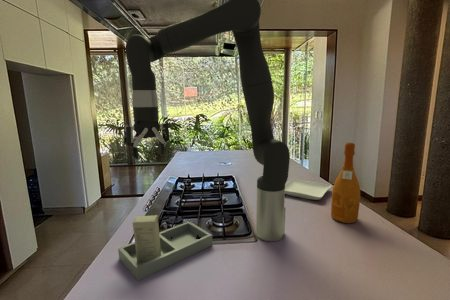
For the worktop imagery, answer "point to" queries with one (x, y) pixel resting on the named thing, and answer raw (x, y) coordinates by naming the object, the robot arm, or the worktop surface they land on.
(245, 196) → the worktop surface
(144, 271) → the carton tray
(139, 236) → the skincare box
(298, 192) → the salad plate
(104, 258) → the worktop surface
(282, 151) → the robot arm
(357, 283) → the worktop surface
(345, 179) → the wine bottle
